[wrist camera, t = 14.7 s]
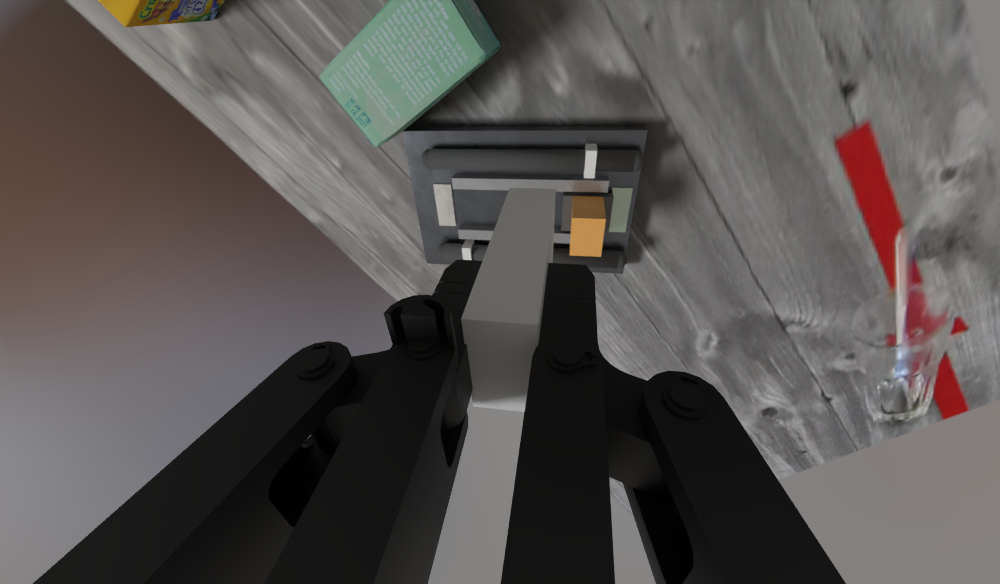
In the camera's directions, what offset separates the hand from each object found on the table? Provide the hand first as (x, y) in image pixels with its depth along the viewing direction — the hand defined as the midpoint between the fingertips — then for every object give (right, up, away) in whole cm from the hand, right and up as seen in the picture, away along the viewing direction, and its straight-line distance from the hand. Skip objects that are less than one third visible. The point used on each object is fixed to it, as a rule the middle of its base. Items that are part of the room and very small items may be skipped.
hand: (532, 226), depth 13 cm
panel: (+1, +8, +31) cm, 32 cm away
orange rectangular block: (+8, +6, +28) cm, 30 cm away
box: (-8, +20, +24) cm, 33 cm away
